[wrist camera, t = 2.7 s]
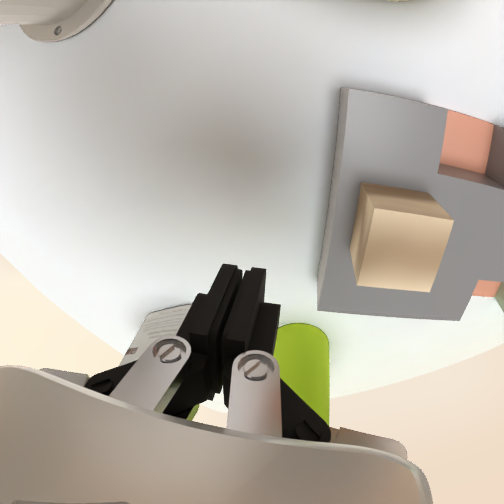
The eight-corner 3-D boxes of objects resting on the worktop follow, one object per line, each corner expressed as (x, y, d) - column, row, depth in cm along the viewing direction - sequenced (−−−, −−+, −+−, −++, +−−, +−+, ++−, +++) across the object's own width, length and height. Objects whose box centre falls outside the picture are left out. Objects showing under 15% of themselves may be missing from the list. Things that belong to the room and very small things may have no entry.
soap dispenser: (269, 368, 32) (234, 551, 15) (267, 321, 29) (221, 542, 12) (324, 371, 31) (313, 557, 14) (331, 323, 28) (326, 550, 11)
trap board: (341, 87, 18) (349, 88, 15) (578, 161, 15) (604, 176, 12) (317, 279, 26) (317, 310, 22) (530, 297, 23) (547, 322, 20)
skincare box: (193, 301, 29) (144, 408, 19) (216, 334, 31) (180, 439, 21) (145, 313, 31) (91, 406, 21) (168, 343, 33) (125, 435, 23)
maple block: (361, 182, 17) (374, 208, 14) (428, 193, 17) (454, 220, 13) (349, 248, 20) (356, 285, 16) (412, 255, 19) (429, 292, 16)
